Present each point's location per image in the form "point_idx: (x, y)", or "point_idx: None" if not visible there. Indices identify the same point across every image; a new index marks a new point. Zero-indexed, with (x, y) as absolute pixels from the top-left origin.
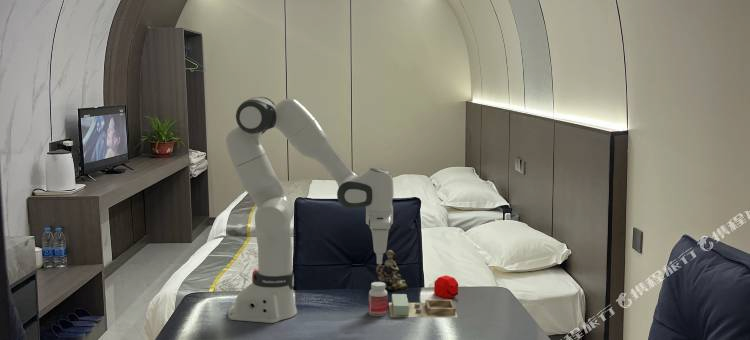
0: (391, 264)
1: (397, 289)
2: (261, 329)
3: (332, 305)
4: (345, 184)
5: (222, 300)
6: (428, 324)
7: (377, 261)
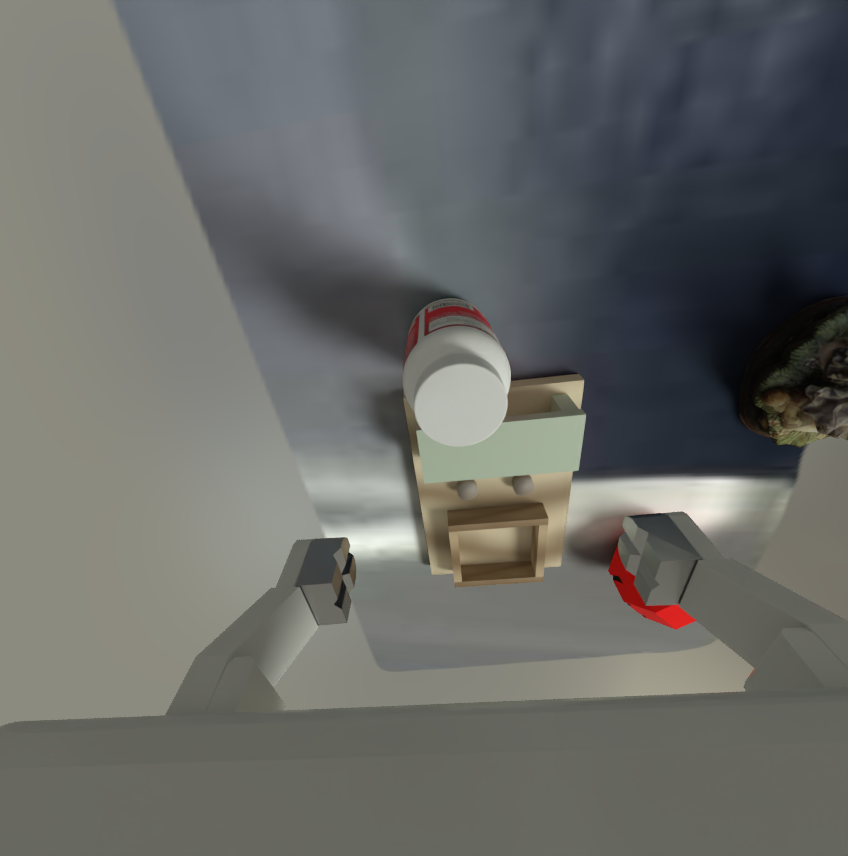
0: None
1: (760, 407)
2: None
3: (623, 23)
4: None
5: None
6: (389, 503)
7: (290, 564)
